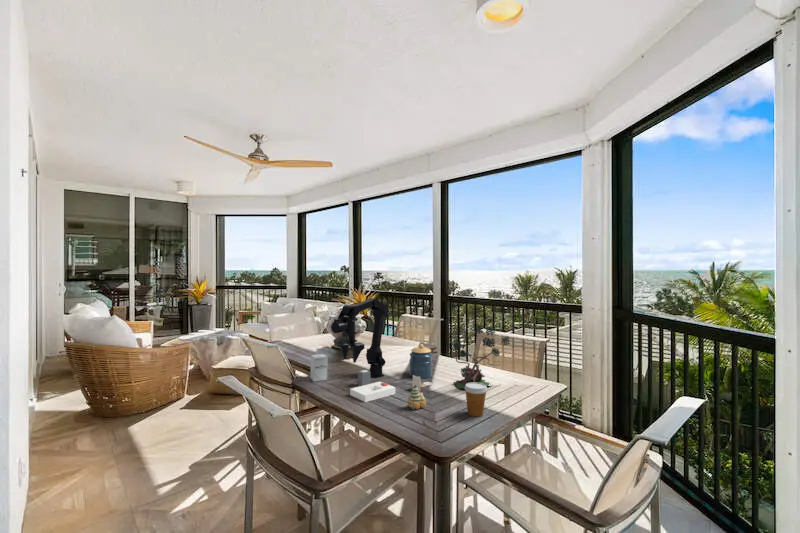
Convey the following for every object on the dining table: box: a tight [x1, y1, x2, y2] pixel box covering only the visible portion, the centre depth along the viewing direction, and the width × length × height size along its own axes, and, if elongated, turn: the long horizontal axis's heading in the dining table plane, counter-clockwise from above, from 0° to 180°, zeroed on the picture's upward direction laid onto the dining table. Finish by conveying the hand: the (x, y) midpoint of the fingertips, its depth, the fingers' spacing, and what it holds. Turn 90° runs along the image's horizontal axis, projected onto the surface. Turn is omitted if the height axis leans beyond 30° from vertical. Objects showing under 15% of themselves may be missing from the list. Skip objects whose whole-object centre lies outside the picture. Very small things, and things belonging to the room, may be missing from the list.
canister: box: [408, 343, 434, 379], centre depth 219 cm, size 13×13×18 cm
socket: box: [349, 381, 396, 403], centre depth 187 cm, size 18×12×4 cm, turn 132°
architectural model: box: [412, 375, 428, 392], centre depth 194 cm, size 3×7×7 cm, turn 40°
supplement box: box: [310, 353, 329, 382], centre depth 209 cm, size 7×7×13 cm
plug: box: [357, 369, 371, 387], centre depth 201 cm, size 5×4×7 cm
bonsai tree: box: [452, 325, 511, 390], centre depth 201 cm, size 35×24×32 cm
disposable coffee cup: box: [463, 382, 488, 417], centre depth 165 cm, size 10×10×12 cm
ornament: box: [406, 385, 427, 410], centre depth 171 cm, size 8×6×10 cm
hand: (349, 360), depth 200 cm, fingers open, 9 cm apart
